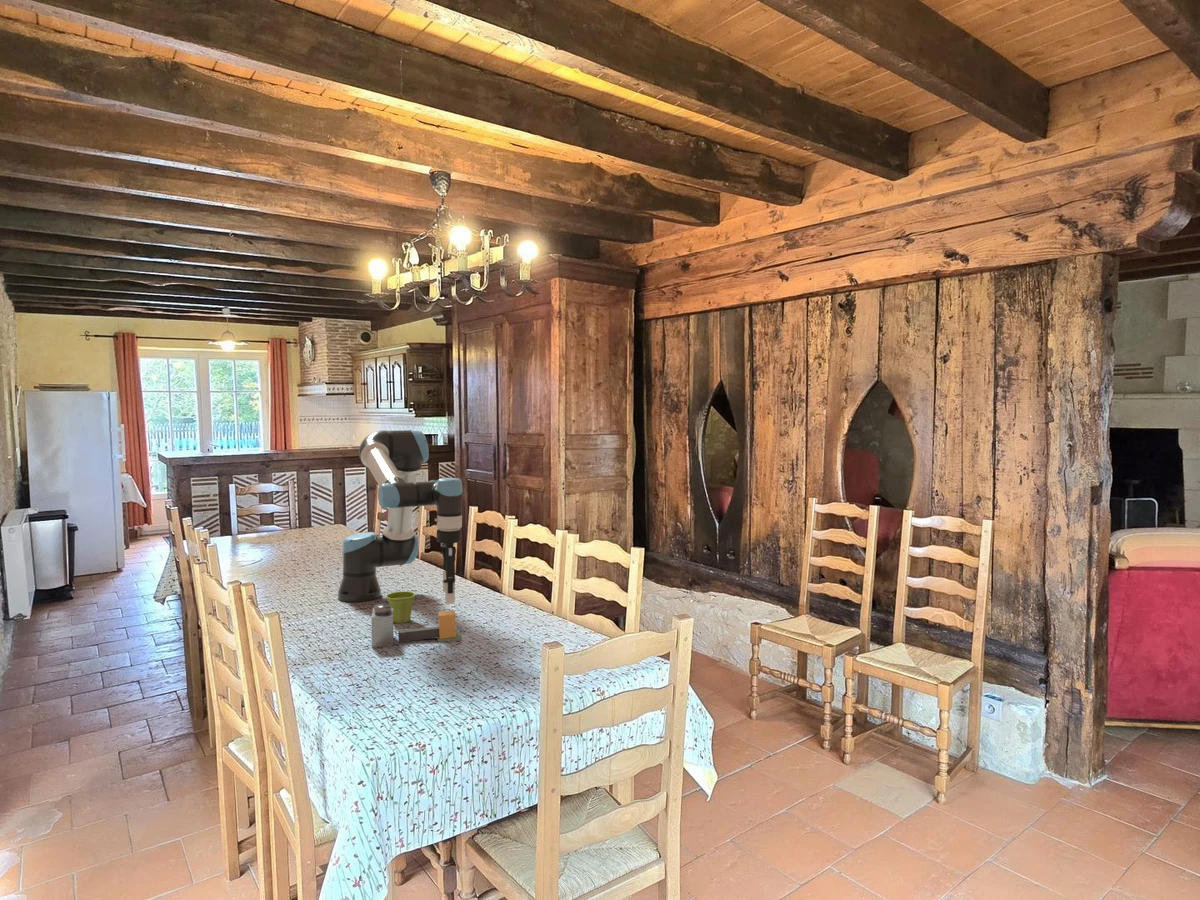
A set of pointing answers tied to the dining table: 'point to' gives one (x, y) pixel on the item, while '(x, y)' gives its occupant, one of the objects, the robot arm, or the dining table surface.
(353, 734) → the dining table surface
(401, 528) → the robot arm
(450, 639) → the mat
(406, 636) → the plug
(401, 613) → the plant pot
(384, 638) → the housing
